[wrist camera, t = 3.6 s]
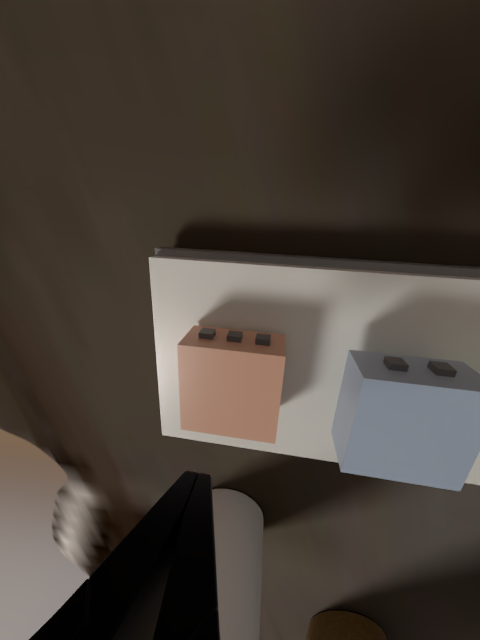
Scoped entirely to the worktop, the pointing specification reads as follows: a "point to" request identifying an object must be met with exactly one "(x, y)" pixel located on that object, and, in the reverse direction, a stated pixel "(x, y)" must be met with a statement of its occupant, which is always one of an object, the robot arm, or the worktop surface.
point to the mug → (238, 563)
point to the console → (310, 326)
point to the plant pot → (343, 627)
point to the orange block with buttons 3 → (231, 382)
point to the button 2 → (408, 419)
